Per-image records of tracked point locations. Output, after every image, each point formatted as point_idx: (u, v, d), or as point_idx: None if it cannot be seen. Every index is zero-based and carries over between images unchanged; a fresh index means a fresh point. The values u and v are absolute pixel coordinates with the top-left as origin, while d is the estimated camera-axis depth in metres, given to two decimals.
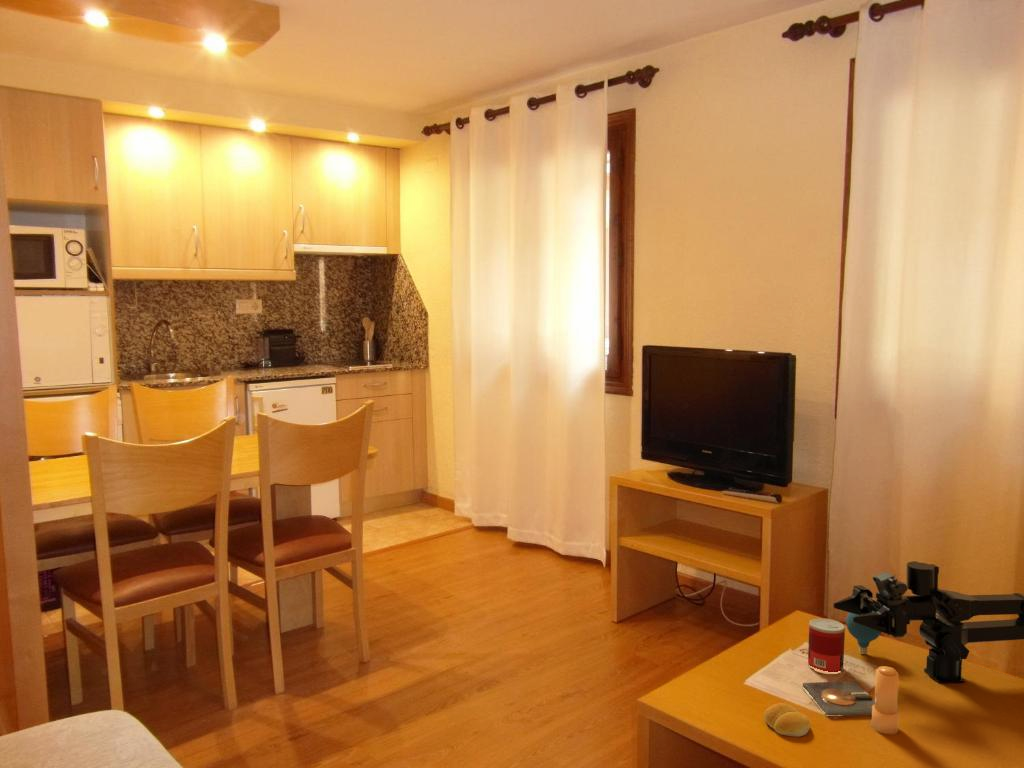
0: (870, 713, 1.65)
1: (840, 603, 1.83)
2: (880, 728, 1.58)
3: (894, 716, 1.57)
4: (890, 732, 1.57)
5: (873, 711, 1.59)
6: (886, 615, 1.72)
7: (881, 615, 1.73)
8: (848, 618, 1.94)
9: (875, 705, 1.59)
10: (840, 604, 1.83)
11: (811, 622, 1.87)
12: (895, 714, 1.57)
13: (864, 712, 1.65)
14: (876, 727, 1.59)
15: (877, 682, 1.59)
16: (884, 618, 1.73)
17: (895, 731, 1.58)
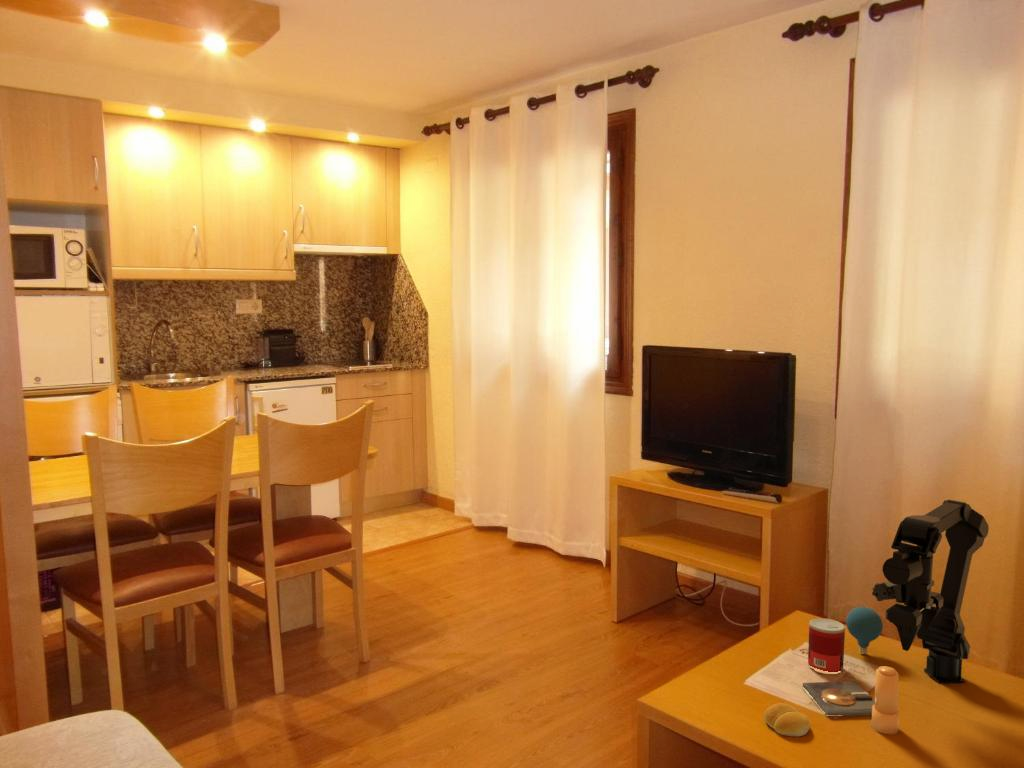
0: (870, 713, 1.65)
1: (917, 631, 1.73)
2: (880, 728, 1.58)
3: (894, 716, 1.57)
4: (890, 732, 1.57)
5: (873, 711, 1.59)
6: (896, 622, 1.66)
7: (897, 626, 1.66)
8: (848, 618, 1.94)
9: (875, 705, 1.59)
10: (918, 631, 1.73)
11: (811, 622, 1.87)
12: (895, 714, 1.57)
13: (864, 712, 1.65)
14: (876, 727, 1.59)
15: (877, 682, 1.59)
16: None
17: (895, 731, 1.58)
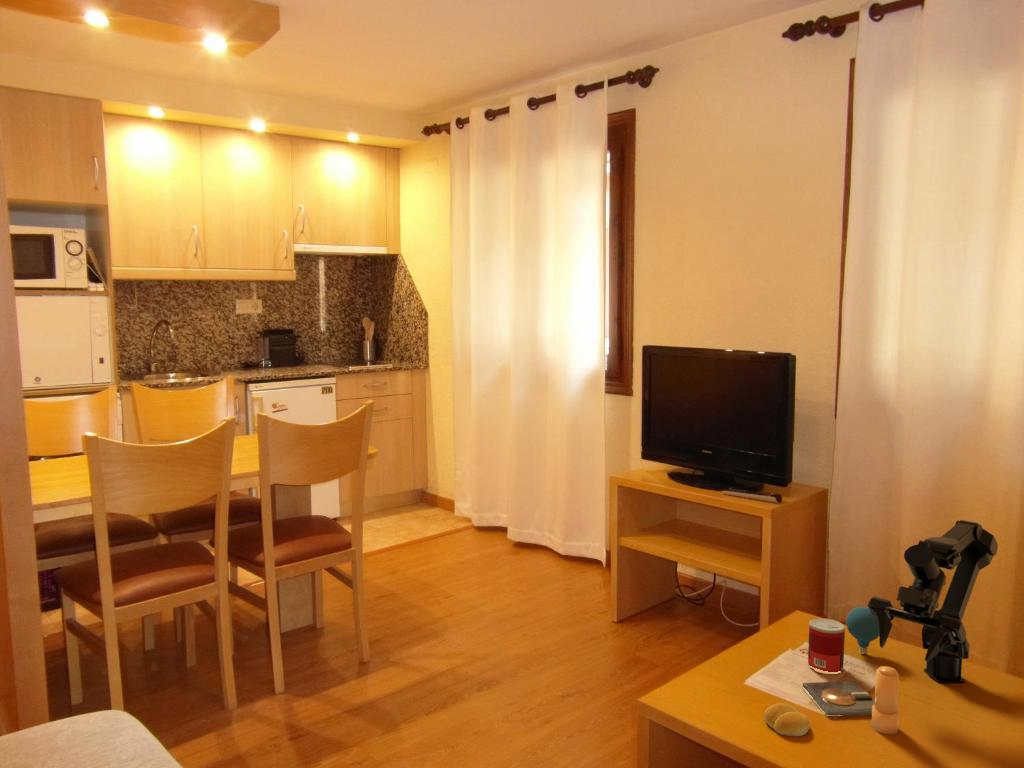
0: (870, 713, 1.65)
1: (883, 639, 1.68)
2: (880, 728, 1.58)
3: (894, 716, 1.57)
4: (890, 732, 1.57)
5: (873, 711, 1.59)
6: (946, 634, 1.61)
7: (942, 637, 1.61)
8: (848, 618, 1.94)
9: (875, 705, 1.59)
10: (884, 640, 1.68)
11: (811, 622, 1.87)
12: (895, 714, 1.57)
13: (864, 712, 1.65)
14: (876, 727, 1.59)
15: (877, 682, 1.58)
16: None
17: (895, 731, 1.58)
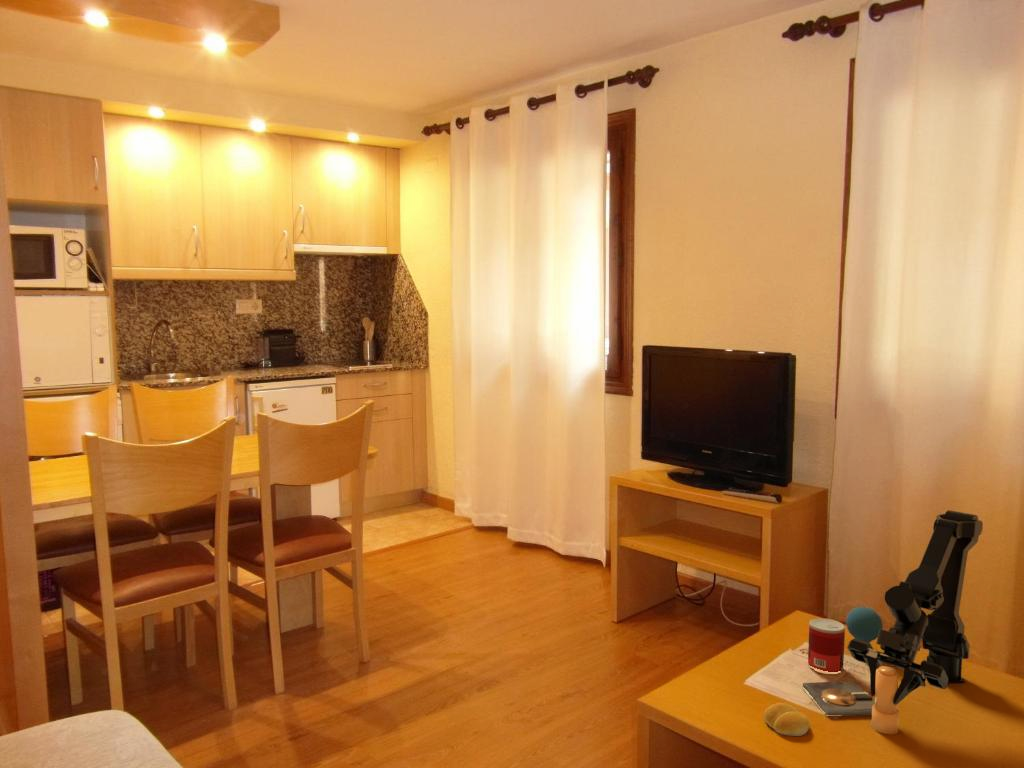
0: (870, 713, 1.65)
1: (874, 688, 1.60)
2: (880, 728, 1.58)
3: (894, 716, 1.57)
4: (890, 732, 1.57)
5: (873, 711, 1.59)
6: (915, 676, 1.57)
7: (911, 679, 1.57)
8: (848, 618, 1.94)
9: (875, 705, 1.59)
10: None
11: (811, 622, 1.87)
12: (895, 714, 1.57)
13: (864, 712, 1.65)
14: (876, 727, 1.59)
15: (877, 682, 1.59)
16: None
17: (895, 731, 1.58)
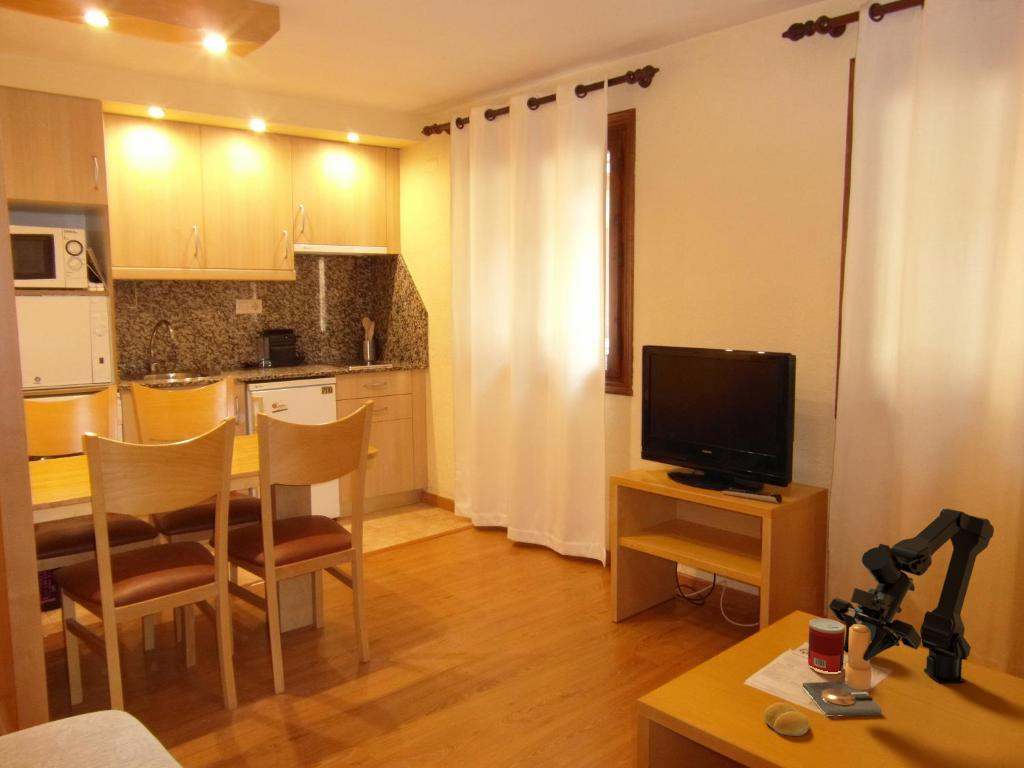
0: (870, 713, 1.65)
1: (848, 644, 1.65)
2: (851, 683, 1.63)
3: (864, 672, 1.62)
4: (860, 687, 1.62)
5: (846, 666, 1.64)
6: (886, 634, 1.60)
7: (882, 637, 1.61)
8: None
9: (848, 661, 1.64)
10: None
11: (811, 622, 1.87)
12: (866, 670, 1.62)
13: (864, 712, 1.65)
14: (848, 682, 1.64)
15: (849, 638, 1.64)
16: (885, 635, 1.61)
17: (866, 687, 1.62)
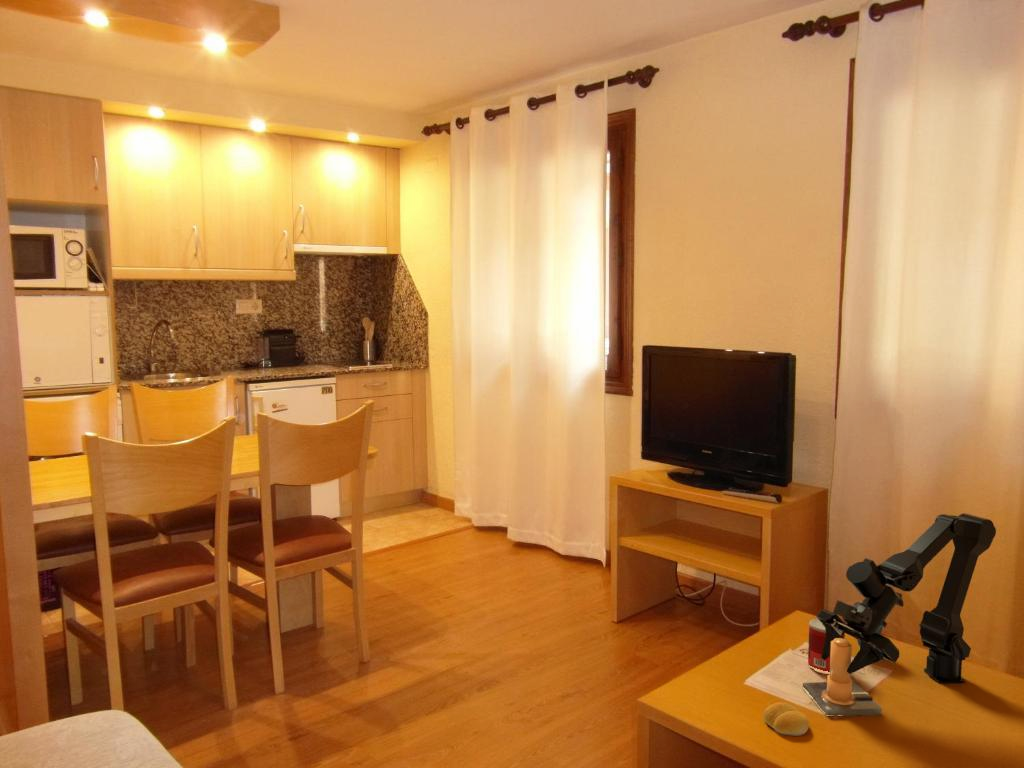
0: (870, 713, 1.65)
1: (826, 652, 1.71)
2: (831, 694, 1.68)
3: (843, 685, 1.66)
4: (839, 699, 1.67)
5: (827, 678, 1.70)
6: (870, 649, 1.63)
7: (866, 652, 1.64)
8: None
9: None
10: (826, 652, 1.71)
11: (811, 622, 1.87)
12: (845, 683, 1.67)
13: (864, 712, 1.65)
14: (828, 693, 1.69)
15: (831, 651, 1.69)
16: (869, 650, 1.65)
17: (845, 699, 1.67)
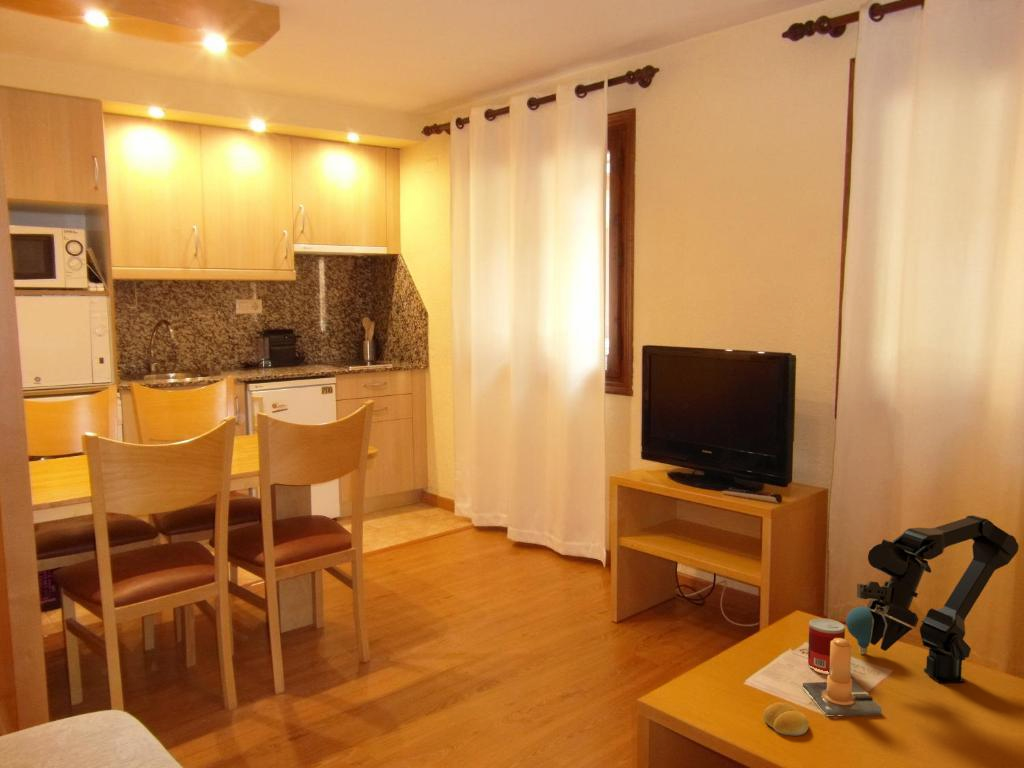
0: (870, 713, 1.65)
1: (873, 636, 1.78)
2: (831, 694, 1.68)
3: (843, 685, 1.66)
4: (839, 699, 1.67)
5: (827, 678, 1.70)
6: (890, 620, 1.67)
7: (889, 624, 1.68)
8: (848, 618, 1.94)
9: (829, 673, 1.70)
10: (874, 637, 1.77)
11: (811, 622, 1.87)
12: (845, 683, 1.67)
13: (864, 712, 1.65)
14: (828, 693, 1.69)
15: (830, 651, 1.69)
16: (894, 622, 1.68)
17: (845, 699, 1.67)
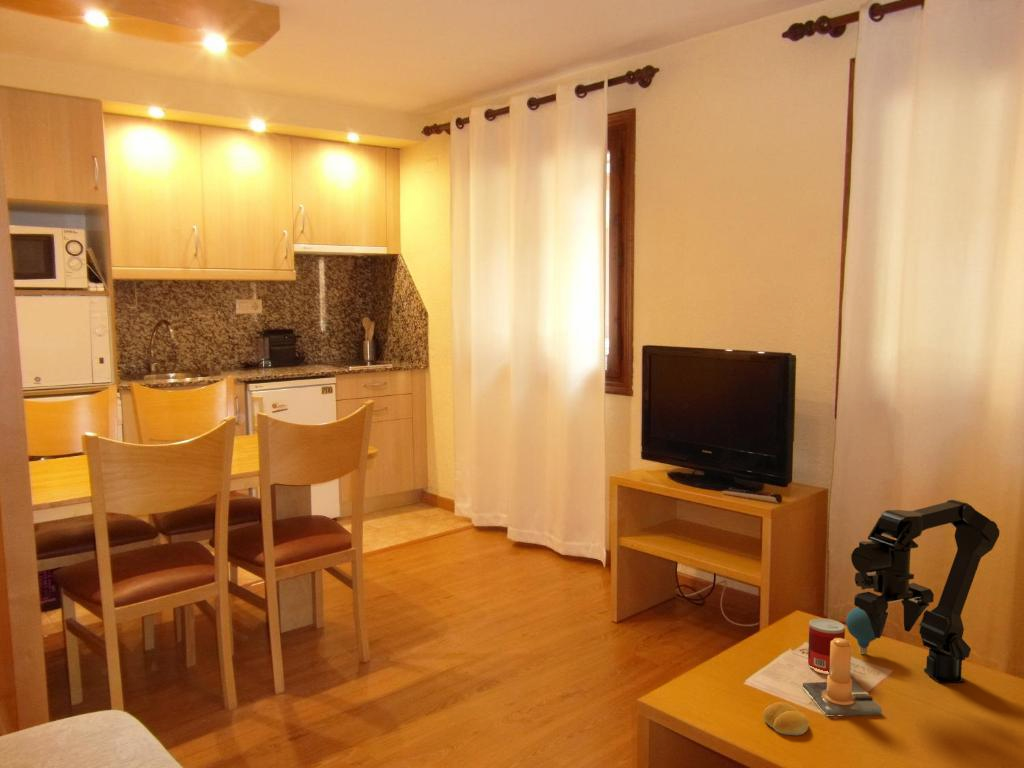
0: (870, 713, 1.65)
1: (904, 623, 1.77)
2: (831, 694, 1.68)
3: (843, 685, 1.66)
4: (839, 699, 1.67)
5: (827, 678, 1.70)
6: None
7: (867, 613, 1.73)
8: (848, 618, 1.94)
9: (829, 673, 1.70)
10: (905, 624, 1.77)
11: (811, 622, 1.87)
12: (845, 683, 1.67)
13: (864, 712, 1.65)
14: (828, 693, 1.69)
15: (830, 651, 1.69)
16: None
17: (845, 699, 1.67)
